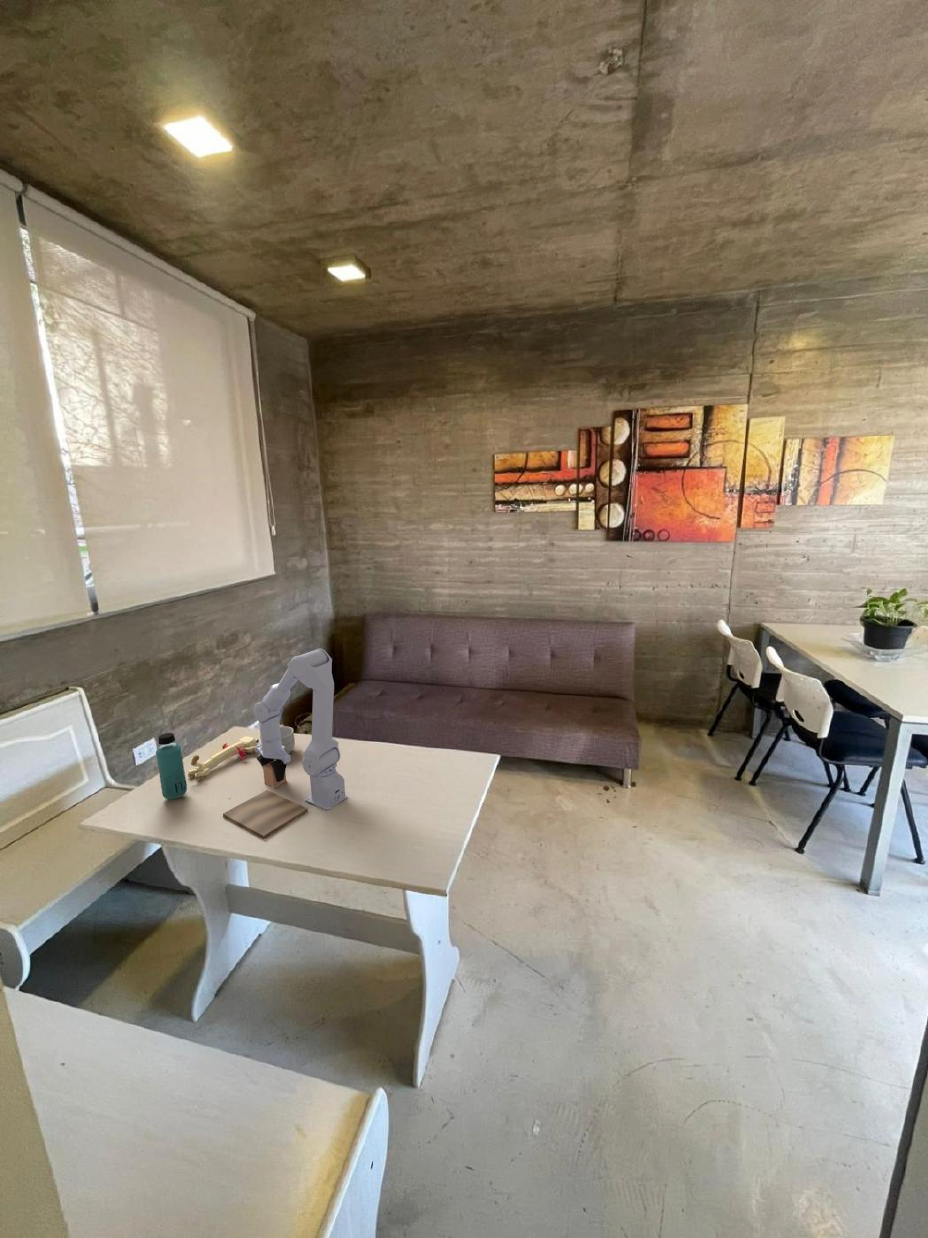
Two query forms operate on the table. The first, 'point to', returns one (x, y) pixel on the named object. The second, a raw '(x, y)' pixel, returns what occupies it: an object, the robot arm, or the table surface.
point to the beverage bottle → (171, 767)
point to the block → (271, 776)
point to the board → (265, 813)
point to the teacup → (287, 738)
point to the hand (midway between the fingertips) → (275, 778)
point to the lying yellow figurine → (222, 756)
